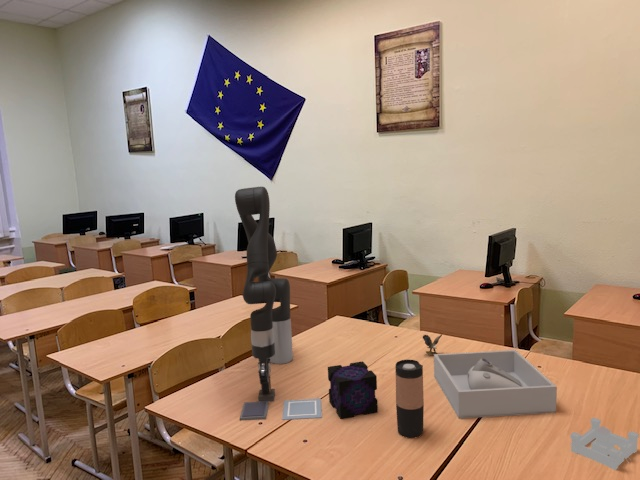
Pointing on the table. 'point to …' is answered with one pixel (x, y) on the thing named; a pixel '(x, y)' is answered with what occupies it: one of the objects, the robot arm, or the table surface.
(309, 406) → the mat
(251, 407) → the pad
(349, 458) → the table surface
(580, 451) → the castle model
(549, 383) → the grey open tray
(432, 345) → the eagle figurine
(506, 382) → the grey curved piece
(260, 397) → the stamp
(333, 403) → the energy cube
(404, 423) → the travel mug
